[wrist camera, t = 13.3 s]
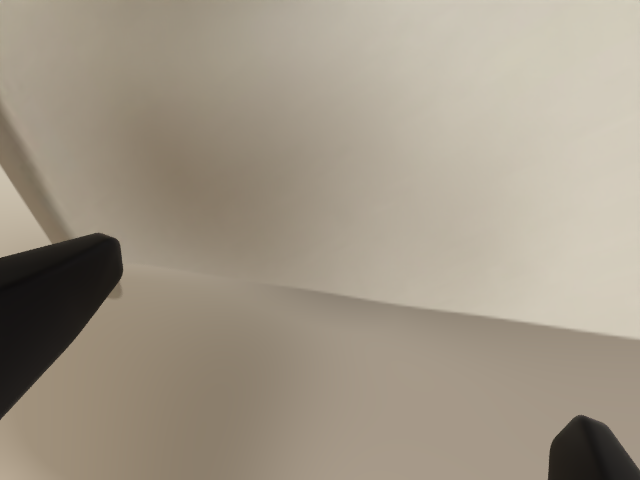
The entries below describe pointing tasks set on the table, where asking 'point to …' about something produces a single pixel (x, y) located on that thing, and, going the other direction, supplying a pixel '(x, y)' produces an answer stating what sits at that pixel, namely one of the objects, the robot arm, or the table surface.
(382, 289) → the table surface
